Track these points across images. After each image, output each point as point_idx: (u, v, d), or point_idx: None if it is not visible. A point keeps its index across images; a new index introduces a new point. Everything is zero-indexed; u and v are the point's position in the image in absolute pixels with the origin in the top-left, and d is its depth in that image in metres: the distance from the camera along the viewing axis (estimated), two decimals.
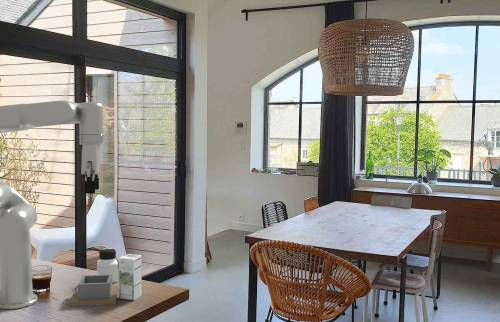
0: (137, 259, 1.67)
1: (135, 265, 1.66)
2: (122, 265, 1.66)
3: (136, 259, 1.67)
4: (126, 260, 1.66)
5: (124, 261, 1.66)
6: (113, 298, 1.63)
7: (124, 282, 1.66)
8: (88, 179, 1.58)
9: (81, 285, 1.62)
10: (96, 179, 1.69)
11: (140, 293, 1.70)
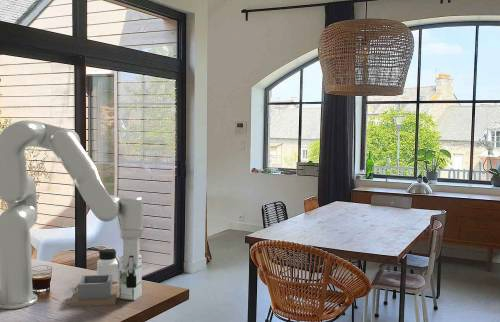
0: None
1: None
2: None
3: None
4: None
5: None
6: (113, 298, 1.63)
7: (124, 282, 1.66)
8: (130, 275, 1.63)
9: (81, 285, 1.62)
10: None
11: (140, 293, 1.70)
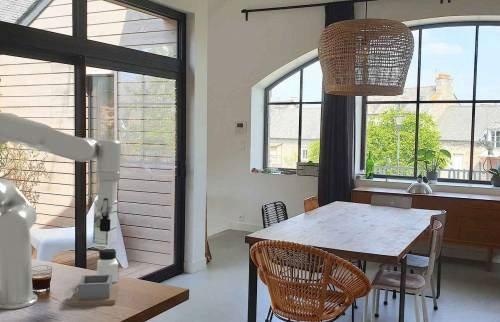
0: None
1: None
2: None
3: None
4: None
5: None
6: (113, 298, 1.63)
7: (98, 225, 1.64)
8: (104, 217, 1.61)
9: (81, 285, 1.62)
10: None
11: (114, 239, 1.68)
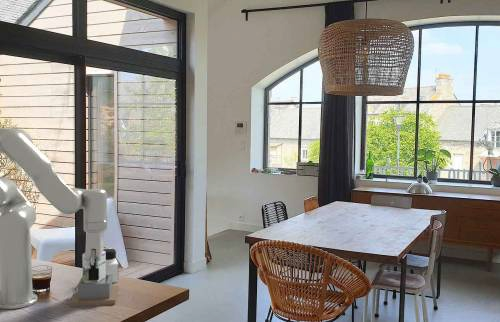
0: None
1: (99, 261, 1.65)
2: (86, 261, 1.65)
3: None
4: None
5: None
6: (113, 298, 1.63)
7: (88, 278, 1.65)
8: (92, 267, 1.61)
9: (81, 285, 1.62)
10: None
11: None
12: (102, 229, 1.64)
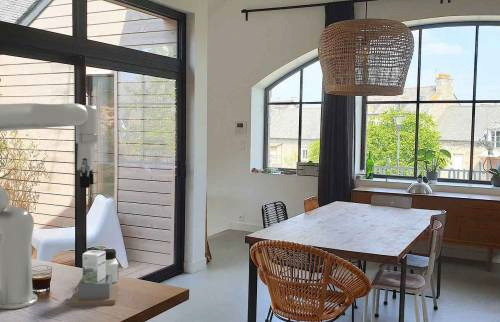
0: (101, 255, 1.66)
1: (99, 261, 1.65)
2: (86, 261, 1.65)
3: (100, 255, 1.65)
4: (89, 256, 1.64)
5: (87, 257, 1.64)
6: (113, 298, 1.63)
7: (88, 278, 1.65)
8: (83, 174, 1.75)
9: (81, 285, 1.62)
10: (91, 175, 1.86)
11: None
12: (93, 141, 1.78)
